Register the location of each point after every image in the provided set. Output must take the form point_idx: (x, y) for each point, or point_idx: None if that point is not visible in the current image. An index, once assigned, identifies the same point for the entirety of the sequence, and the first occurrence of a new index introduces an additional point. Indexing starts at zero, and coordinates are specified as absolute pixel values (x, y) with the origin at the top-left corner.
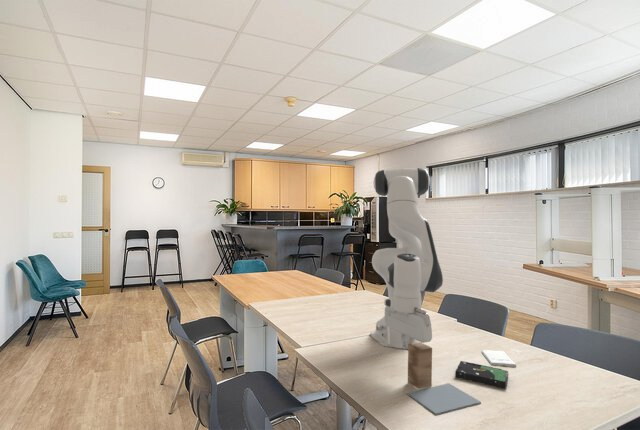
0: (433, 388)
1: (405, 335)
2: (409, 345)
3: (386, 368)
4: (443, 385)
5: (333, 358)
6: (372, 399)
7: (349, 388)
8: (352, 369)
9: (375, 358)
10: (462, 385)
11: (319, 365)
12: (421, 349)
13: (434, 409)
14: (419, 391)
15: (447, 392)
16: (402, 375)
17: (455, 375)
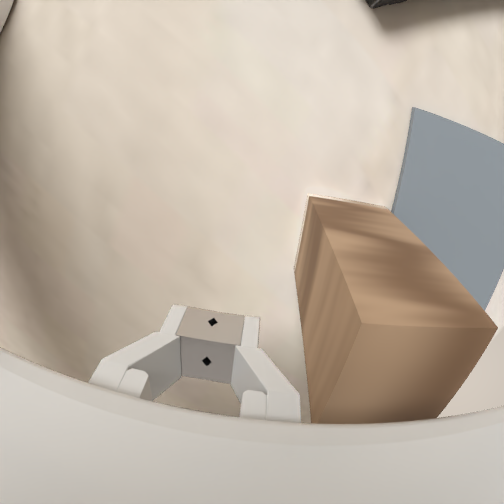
0: (404, 219)
1: (150, 389)
2: None
3: (120, 241)
4: (414, 152)
5: (23, 337)
6: (306, 412)
7: None
8: (101, 350)
9: (27, 214)
10: (442, 64)
11: None
12: (441, 409)
13: None
14: None
15: (455, 198)
16: (215, 228)
17: (373, 4)
